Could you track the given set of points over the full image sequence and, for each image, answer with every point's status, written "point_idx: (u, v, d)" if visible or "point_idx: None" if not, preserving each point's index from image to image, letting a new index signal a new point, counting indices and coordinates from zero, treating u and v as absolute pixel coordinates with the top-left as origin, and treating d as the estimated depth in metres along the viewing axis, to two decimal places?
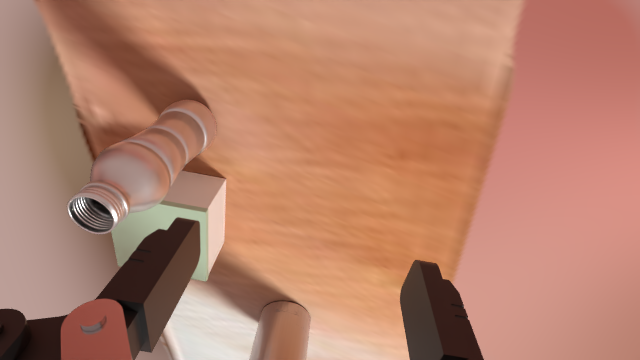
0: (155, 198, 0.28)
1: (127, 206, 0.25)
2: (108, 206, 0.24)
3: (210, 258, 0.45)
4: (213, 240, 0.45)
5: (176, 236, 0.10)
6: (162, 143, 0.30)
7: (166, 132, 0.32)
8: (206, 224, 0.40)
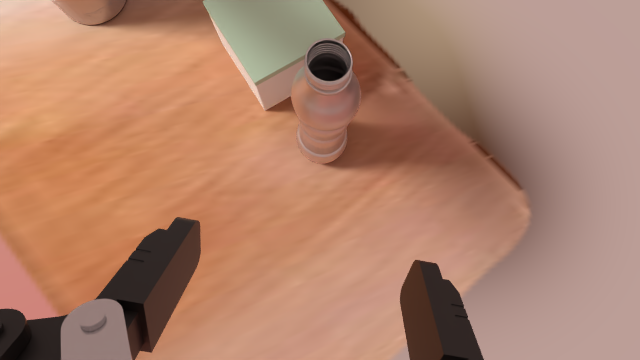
0: (295, 95, 0.28)
1: (308, 84, 0.25)
2: (320, 81, 0.23)
3: (218, 28, 0.40)
4: (230, 48, 0.40)
5: (176, 236, 0.10)
6: (325, 135, 0.31)
7: (329, 139, 0.33)
8: (245, 69, 0.37)
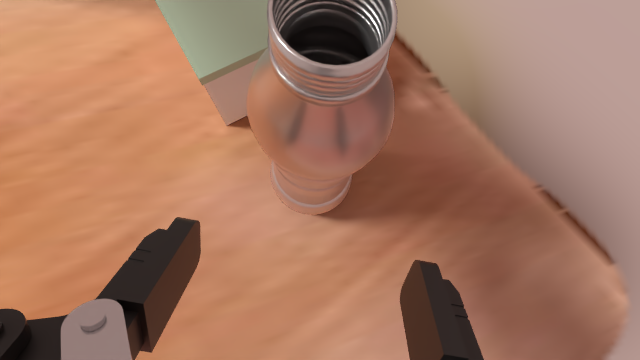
0: (253, 102, 0.12)
1: (278, 74, 0.10)
2: (307, 65, 0.08)
3: None
4: None
5: (176, 236, 0.10)
6: (316, 183, 0.16)
7: (324, 187, 0.18)
8: (186, 56, 0.21)
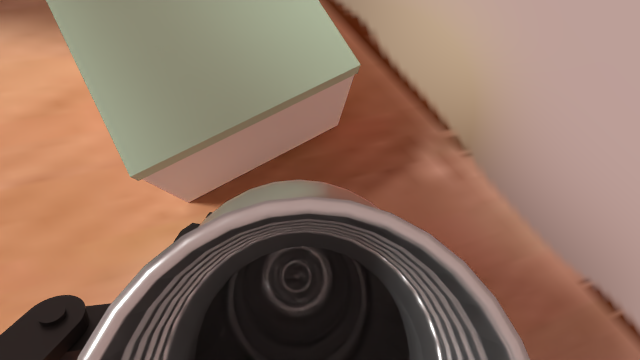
0: None
1: None
2: None
3: None
4: None
5: None
6: None
7: None
8: (113, 140, 0.15)
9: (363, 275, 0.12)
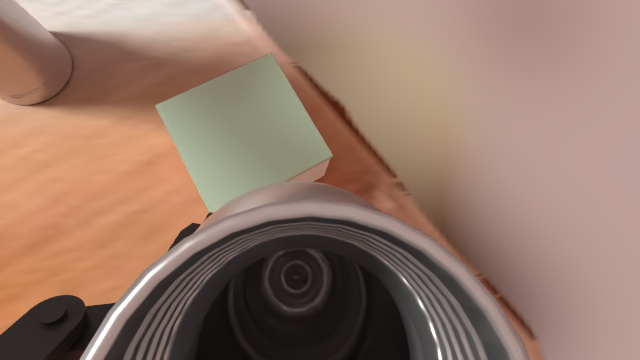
0: None
1: None
2: None
3: None
4: None
5: None
6: None
7: None
8: (203, 200, 0.29)
9: (363, 276, 0.12)
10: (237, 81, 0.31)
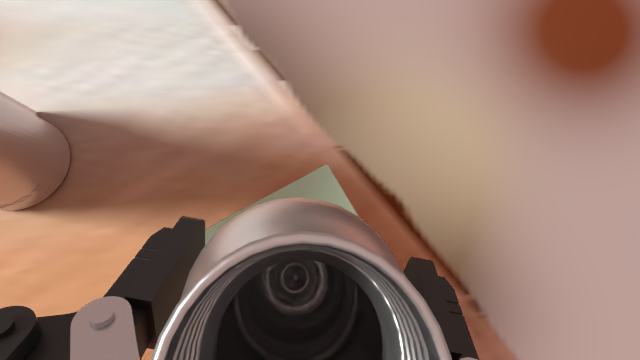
0: None
1: None
2: None
3: None
4: None
5: (182, 235, 0.10)
6: None
7: None
8: None
9: None
10: None
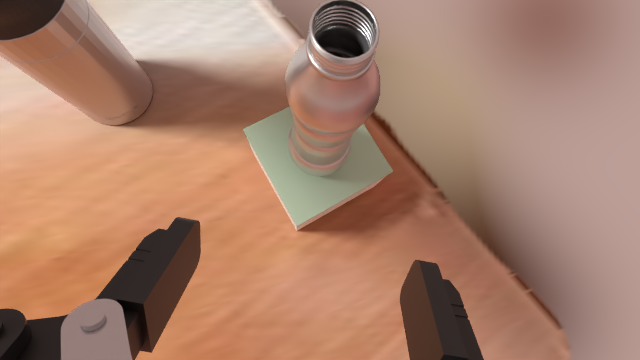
0: (292, 82, 0.20)
1: (312, 63, 0.17)
2: (331, 57, 0.16)
3: None
4: (266, 173, 0.38)
5: (176, 236, 0.10)
6: (327, 140, 0.23)
7: (332, 146, 0.26)
8: (287, 210, 0.34)
9: None
10: None
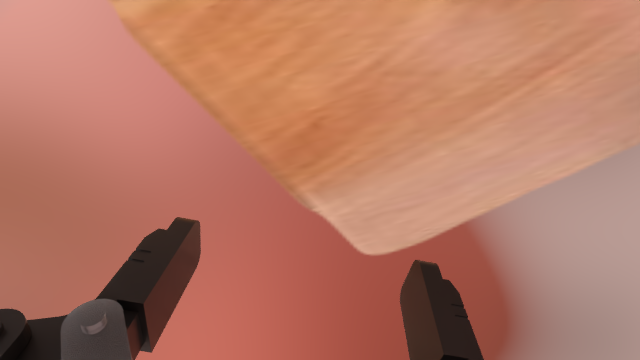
0: None
1: None
2: None
3: None
4: None
5: (176, 236, 0.10)
6: None
7: None
8: None
9: None
10: None
